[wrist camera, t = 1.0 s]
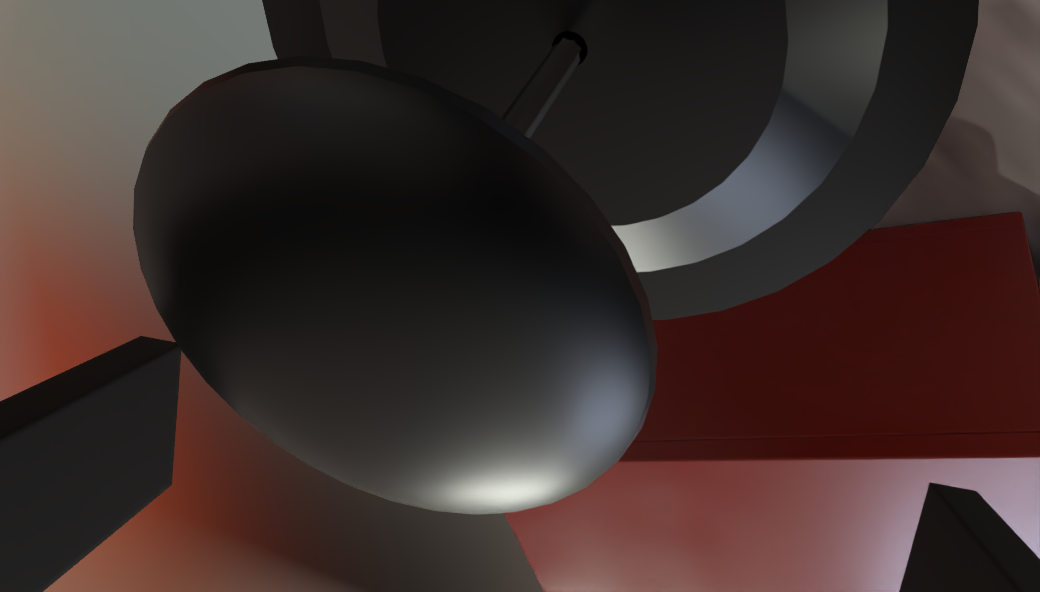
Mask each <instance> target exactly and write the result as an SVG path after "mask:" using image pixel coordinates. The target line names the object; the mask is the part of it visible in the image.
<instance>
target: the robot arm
mask: <svg viewBox="0 0 1040 592" xmlns="http://www.w3.org/2000/svg"><path fill="white" fill-rule="evenodd" d="M180 360H181V349H180V348H179V346H178V345H177V343H176V342H171V341H165V340H160V339H155V338H149V337H144V336H140V337H138V338H136V339H134V340H131V341H129V342H127V343H125V344H123V345H121V346H119V347H116V348H114V349H113V350H110V351H108V352H106V353H104V354H101V355H99V356H97V357H95V358H93V359H91V360H89V361H86V362H84V363H82V364H80V365H78V366H76V367H73V368H71V369H69V370H67V371H65V372H63V373H61V374H58V375H56V376H54V377H52V378H50V379H48V380H45V381H43V382H41V383H39V384H37V385H35V386H33V387H30V388H28V389H26V390H24V391H22V392H20V393H18V394H15V395H13V396H11V397H9V398H7V399H5V400H2V401H0V592H43V591H44V590H45V589H47V588H48V587H49V586H50V585H51V584H53V583H54V582H55V581H56V580H57V579H59V578H60V577H61V576H62V575H64V573H66V572H67V571H68V570H70V569H71V568H72V567H73V566H74V565H76V564H77V563H78V562H79V561H80V560H82V559H83V558H84V557H85V556H86V555H88V554H89V553H90V552H91V551H93V550H94V549H95V548H96V547H97V546H99V545H100V544H101V543H102V542H103V541H104V540H106V539H107V538H108V537H109V536H111V535H112V534H113V533H114V532H115V531H117V530H118V529H119V528H120V527H122V526H123V525H124V524H125V523H126V522H128V521H129V520H130V519H131V518H132V517H134V516H135V515H136V514H137V513H138V512H140V511H141V510H142V509H143V508H144V507H146V506H147V505H148V504H149V503H150V502H152V501H153V500H154V499H155V498H157V497H158V496H159V495H160V494H161V493H163V492H164V491H165V490H166V489H167V488H168V487H170V486H171V485H172V474H173V460H174V446H175V431H176V418H177V404H178V403H177V402H178V390H179V375H180ZM899 592H1040V558H1039V557H1038V556H1037V555H1036V554H1035V553H1034V552H1033V551H1032V550H1031V549H1030V548H1029V547H1028V545H1027V544H1026V543H1025V542H1024V541H1023V540H1022V539H1021V538H1020V537H1019V536H1018V535H1017V534H1016V533H1015V532H1014V531H1013V529H1012V528H1011V527H1010V526H1009V525H1008V524H1007V523H1006V522H1005V521H1004V520H1003V519H1002V518H1001V517H1000V516H999V515H998V513H997V512H996V511H995V510H994V509H993V508H992V507H991V506H990V505H989V504H988V503H987V502H986V501H985V500H984V499H983V497H982V496H981V495H980V494H979V493H978V492H977V491H974V490H969V489H963V488H958V487H953V486H947V485H942V484H936V483H931V482H929V486H928V490H927V493H926V497H925V500H924V504H923V508H922V511H921V515H920V518H919V522H918V526H917V529H916V533H915V537H914V540H913V544H912V547H911V551H910V555H909V558H908V562H907V565H906V569H905V573H904V576H903V580H902V583H901V587H900V591H899Z"/></svg>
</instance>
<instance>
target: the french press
mask: <svg viewBox="0 0 1040 592" xmlns="http://www.w3.org/2000/svg"><path fill="white" fill-rule="evenodd" d="M262 2H263V6H264V10H265V14H266V19H267V23H268V27H269V31H270V36H271V40H272V44H273V48H274V50H275V52H276V55H277V58H278V59H276V60H269V61H262V62H255V63H248V64H246V65H243V66H241V67H239V68H236V69H234V70H231V71H229V72H227V73H224V74H222V75H219V76H217V77H215V78H212V79H210V80H207V81H205V82H203V83H202V84H201V85H200V86H198V87H197V88H196V89H195V90H194V91H192V92H191V93H190V94H189V95H188V96H186V97H185V98H184V99H183V100H181V101H180V102H179V103H178V104H177V105H176V106H174V107H173V108H172V109H171V110H170V111H169V113H168V114H167V116H166V117H165V119H164V120H163V122H162V124H161V125H160V127H159V128H158V130H157V131H156V133H155V134H154V136H153V137H152V139H151V140H150V142H149V144H148V146H147V148H146V151H145V154H144V158H143V161H142V164H141V168H140V171H139V175H138V178H137V181H136V185H135V188H134V219H133V230H134V235H135V241H136V246H137V251H138V256H139V261H140V266H141V270H142V273H143V275H144V278H145V280H146V283H147V286H148V288H149V291H150V293H151V296H152V298H153V301H154V303H155V306H156V308H157V310H158V312H159V314H160V315H161V317H162V319H163V320H164V322H165V324H166V326H167V327H168V329H169V331H170V333H171V334H172V336H173V338H174V339H175V341H176V343H177V345H178V346H179V348H180V349H181V350H182V352H183V353H184V354H185V355H186V357H187V358H188V359H189V360H190V362H191V363H192V364H193V366H194V367H195V368H196V370H197V371H198V372H199V373H200V375H201V376H202V377H203V378H204V380H205V381H206V382H207V383H208V384H209V385H210V386H211V387H212V388H213V389H214V390H215V391H216V392H217V393H218V394H219V395H220V396H221V397H222V398H223V399H224V400H225V401H226V402H227V403H228V404H229V405H230V406H231V407H232V408H233V409H234V410H235V411H236V412H237V413H238V414H239V415H240V416H241V417H243V418H244V419H245V420H246V421H247V422H249V423H250V424H251V425H252V426H254V427H255V428H256V429H258V430H259V431H260V432H261V433H262V434H264V435H265V436H266V437H268V438H269V439H270V440H271V441H272V442H274V443H275V444H277V445H278V446H280V447H282V448H283V449H285V450H286V451H288V452H289V453H291V454H293V455H294V456H296V457H297V458H299V459H301V460H302V461H303V462H305V463H307V464H308V465H310V466H312V467H314V468H316V469H318V470H320V471H322V472H324V473H326V474H328V475H330V476H332V477H334V478H336V479H338V480H340V481H342V482H344V483H346V484H348V485H350V486H352V487H355V488H358V489H361V490H363V491H366V492H369V493H372V494H375V495H378V496H380V497H383V498H386V499H388V500H391V501H395V502H399V503H404V504H408V505H412V506H417V507H421V508H425V509H429V510H435V511H445V512H455V513H465V514H492V513H510V512H518V511H522V510H526V509H531V508H535V507H539V506H543V505H548V504H552V503H554V502H556V501H559V500H561V499H563V498H565V497H567V496H569V495H571V494H573V493H576V492H578V491H580V490H582V489H584V488H586V487H587V486H589V485H590V484H591V483H592V482H593V481H595V480H596V479H597V478H598V477H600V476H601V475H602V474H603V473H605V472H606V471H607V470H608V469H609V468H611V467H612V466H613V465H614V464H615V463H616V462H618V461H619V460H620V459H621V457H622V456H623V454H624V453H625V452H626V450H627V449H628V447H629V446H630V444H631V443H632V442H633V440H634V439H635V437H636V436H637V435H638V433H639V432H640V430H641V429H642V427H643V424H644V421H645V418H646V415H647V412H648V409H649V406H650V404H651V401H652V398H653V395H654V392H655V383H656V364H657V341H656V336H655V331H654V326H653V321H652V320H668V319H674V318H681V317H687V316H693V315H699V314H705V313H711V312H717V311H722V310H725V309H728V308H731V307H734V306H737V305H740V304H743V303H745V302H748V301H751V300H754V299H757V298H760V297H763V296H766V295H769V294H771V293H774V292H777V291H779V290H781V289H783V288H785V287H786V286H788V285H790V284H792V283H793V282H795V281H797V280H799V279H800V278H802V277H804V276H806V275H808V274H809V273H811V272H813V271H815V270H816V269H818V268H820V267H822V266H824V265H825V264H827V263H829V262H831V261H832V260H833V259H834V258H836V257H837V256H838V255H839V254H840V253H842V252H843V251H844V250H845V249H846V248H848V247H849V246H850V245H851V244H852V243H854V242H855V241H856V240H857V239H858V238H859V237H861V236H862V235H863V234H864V233H865V232H867V231H868V230H869V229H870V228H871V227H873V226H874V225H875V224H876V223H877V222H879V221H880V220H881V219H882V218H883V216H884V215H885V214H886V213H887V211H888V210H889V209H890V208H891V206H892V205H893V204H894V203H895V201H896V200H897V199H898V198H899V196H900V195H901V194H902V193H903V191H904V190H905V189H906V188H907V186H908V185H909V184H910V183H911V181H912V180H913V179H914V178H915V176H916V175H917V174H918V173H919V171H920V170H921V169H922V168H923V166H924V165H925V163H926V161H927V159H928V157H929V155H930V153H931V151H932V149H933V147H934V145H935V143H936V141H937V139H938V137H939V135H940V133H941V131H942V130H943V128H944V126H945V124H946V122H947V120H948V118H949V116H950V114H951V112H952V110H953V108H954V106H955V104H956V102H957V100H958V96H959V92H960V89H961V85H962V81H963V78H964V74H965V70H966V66H967V63H968V59H969V55H970V51H971V48H972V44H973V40H974V37H975V33H976V29H977V25H978V5H979V0H262Z"/></svg>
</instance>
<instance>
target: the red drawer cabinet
mask: <svg viewBox="0 0 1040 592" xmlns="http://www.w3.org/2000/svg"><path fill="white" fill-rule="evenodd" d="M652 321H653V326H654V331H655V336H656V341H657V364H656V383H655V392H654V395H653V398H652V401H651V404H650V406H649V409H648V412H647V415H646V418H645V421H644V424H643V427H642V429H641V430H640V432H639V433H638V435H637V436H636V437H635V439H634V440H633V442H632V443H631V444H630V446H629V447H628V449H627V450H626V452H625V453H624V454H623V456H622V457H621V459H620V460H619V461H618V462H616V463H615V464H614V465H613V466H612V467H611V468H609V469H608V470H607V471H606V472H605V473H603V474H602V475H601V476H600V477H598V478H597V479H596V480H595V481H593V482H592V483H591V484H590V485H589V486H587V487H586V488H584V489H582V490H580V491H578V492H576V493H573V494H571V495H569V496H567V497H565V498H563V499H561V500H559V501H556V502H554V503H552V504H548V505H543V506H539V507H535V508H531V509H526V510H522V511H518V512H510V513H504V514H505V516H506V518H507V520H508V522H509V524H510V526H511V528H512V530H513V532H514V534H515V536H516V538H517V540H518V542H519V544H520V546H521V548H522V549H523V552H524V554H525V556H526V558H527V560H528V562H529V563H530V566H531V567H532V569H533V571H534V573H535V575H536V577H537V579H538V581H539V583H540V585H541V587H542V589H543V591H544V592H899V591H900V587H901V583H902V580H903V576H904V573H905V569H906V565H907V562H908V558H909V555H910V551H911V547H912V544H913V540H914V537H915V533H916V529H917V526H918V522H919V518H920V515H921V511H922V508H923V504H924V500H925V497H926V493H927V490H928V486H929V482H931V483H936V484H942V485H947V486H953V487H958V488H963V489H969V490H974V491H977V492H978V493H979V494H980V495H981V496H982V497H983V499H984V500H985V501H986V502H987V503H988V504H989V505H990V506H991V507H992V508H993V509H994V510H995V511H996V512H997V513H998V515H999V516H1000V517H1001V518H1002V519H1003V520H1004V521H1005V522H1006V523H1007V524H1008V525H1009V526H1010V527H1011V528H1012V529H1013V531H1014V532H1015V533H1016V534H1017V535H1018V536H1019V537H1020V538H1021V539H1022V540H1023V541H1024V542H1025V543H1026V544H1027V545H1028V547H1029V548H1030V549H1031V550H1032V551H1033V552H1034V553H1035V554H1036V555H1037V556H1038V557H1039V558H1040V291H1039V287H1038V282H1037V278H1036V273H1035V269H1034V265H1033V260H1032V256H1031V251H1030V247H1029V243H1028V238H1027V234H1026V229H1025V225H1024V220H1023V216H1022V213H1021V212H1014V213H1006V214H998V215H989V216H981V217H973V218H964V219H956V220H948V221H939V222H931V223H923V224H915V225H906V226H898V227H890V228H881V229H873V230H868V231H867V232H865V233H864V234H863V235H862V236H861V237H859V238H858V239H857V240H856V241H855V242H854V243H852V244H851V245H850V246H849V247H848V248H846V249H845V250H844V251H843V252H842V253H840V254H839V255H838V256H837V257H836V258H834V259H833V260H832V261H831V262H829V263H827V264H825V265H824V266H822V267H820V268H818V269H816V270H815V271H813V272H811V273H809V274H808V275H806V276H804V277H802V278H800V279H799V280H797V281H795V282H793V283H792V284H790V285H788V286H786V287H785V288H783V289H781V290H779V291H777V292H774V293H771V294H769V295H766V296H763V297H760V298H757V299H754V300H751V301H748V302H745V303H743V304H740V305H737V306H734V307H731V308H728V309H725V310H722V311H717V312H711V313H705V314H699V315H693V316H687V317H681V318H674V319H668V320H652Z"/></svg>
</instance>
